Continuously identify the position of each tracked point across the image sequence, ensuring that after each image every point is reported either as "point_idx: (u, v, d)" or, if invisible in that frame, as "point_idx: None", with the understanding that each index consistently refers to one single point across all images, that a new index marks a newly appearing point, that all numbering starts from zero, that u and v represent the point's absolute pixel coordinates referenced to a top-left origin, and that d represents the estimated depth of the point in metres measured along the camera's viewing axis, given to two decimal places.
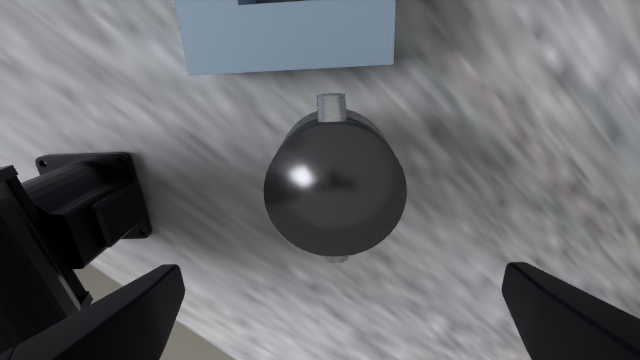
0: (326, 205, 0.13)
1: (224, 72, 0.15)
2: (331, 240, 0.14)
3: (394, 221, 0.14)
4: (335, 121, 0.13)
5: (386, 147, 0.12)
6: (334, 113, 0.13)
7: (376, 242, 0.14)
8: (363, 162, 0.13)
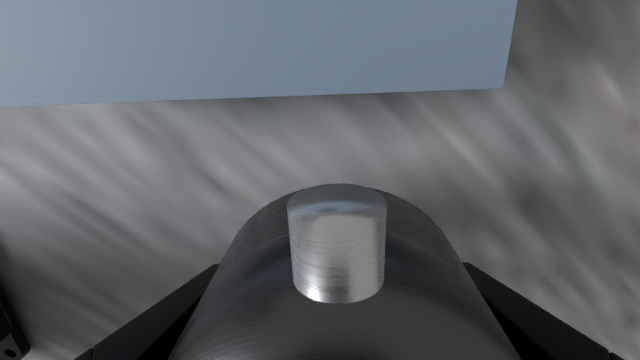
0: None
1: (62, 101, 0.06)
2: None
3: None
4: (352, 306, 0.04)
5: None
6: (348, 277, 0.04)
7: None
8: None
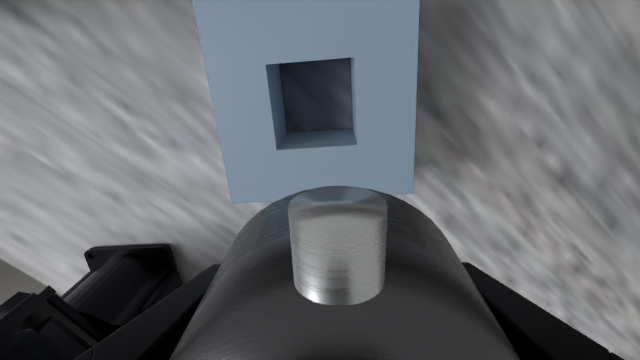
0: None
1: (263, 201, 0.17)
2: None
3: None
4: (352, 308, 0.04)
5: None
6: (349, 279, 0.04)
7: None
8: None
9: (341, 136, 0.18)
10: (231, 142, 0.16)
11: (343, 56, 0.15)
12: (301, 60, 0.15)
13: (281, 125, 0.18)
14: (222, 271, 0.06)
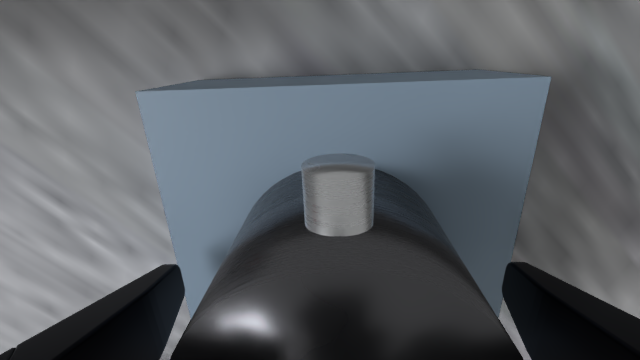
0: None
1: None
2: None
3: None
4: (349, 237, 0.05)
5: (494, 326, 0.04)
6: (346, 216, 0.05)
7: None
8: (424, 357, 0.05)
9: None
10: None
11: None
12: None
13: None
14: (244, 229, 0.07)
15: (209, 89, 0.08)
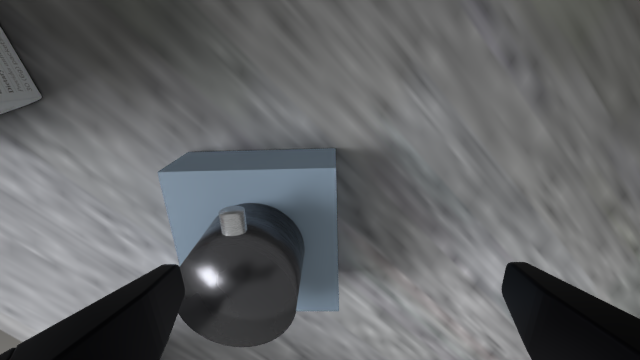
0: (228, 306, 0.15)
1: None
2: (236, 334, 0.16)
3: (289, 320, 0.15)
4: (233, 236, 0.15)
5: (274, 263, 0.14)
6: (232, 229, 0.15)
7: (275, 336, 0.16)
8: (255, 274, 0.14)
9: None
10: None
11: None
12: None
13: None
14: (204, 233, 0.17)
15: (190, 171, 0.18)
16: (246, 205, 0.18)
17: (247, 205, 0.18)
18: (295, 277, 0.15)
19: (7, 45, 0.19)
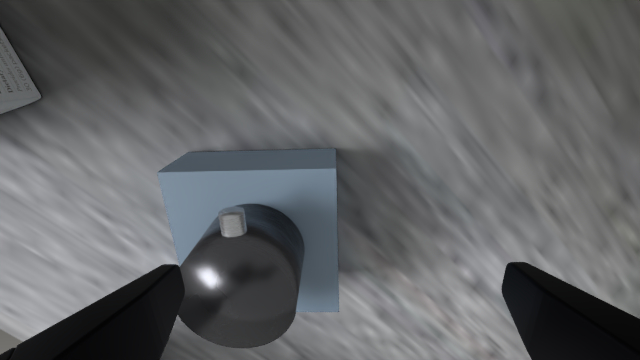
0: (227, 308, 0.15)
1: None
2: (235, 335, 0.16)
3: (289, 321, 0.15)
4: (233, 237, 0.15)
5: (274, 265, 0.14)
6: (232, 230, 0.15)
7: (275, 337, 0.16)
8: (255, 275, 0.14)
9: None
10: None
11: None
12: None
13: None
14: (204, 234, 0.17)
15: (190, 171, 0.18)
16: (246, 205, 0.18)
17: (247, 205, 0.18)
18: (295, 278, 0.15)
19: (6, 45, 0.19)
